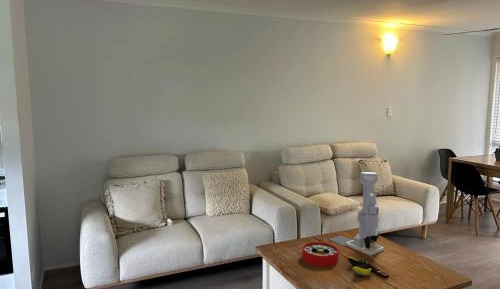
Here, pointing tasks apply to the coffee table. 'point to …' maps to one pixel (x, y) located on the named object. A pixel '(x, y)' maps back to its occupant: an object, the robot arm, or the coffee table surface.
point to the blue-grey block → (359, 241)
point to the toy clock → (320, 254)
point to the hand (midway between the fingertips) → (370, 247)
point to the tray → (362, 249)
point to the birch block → (371, 246)
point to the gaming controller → (359, 267)
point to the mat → (340, 240)
